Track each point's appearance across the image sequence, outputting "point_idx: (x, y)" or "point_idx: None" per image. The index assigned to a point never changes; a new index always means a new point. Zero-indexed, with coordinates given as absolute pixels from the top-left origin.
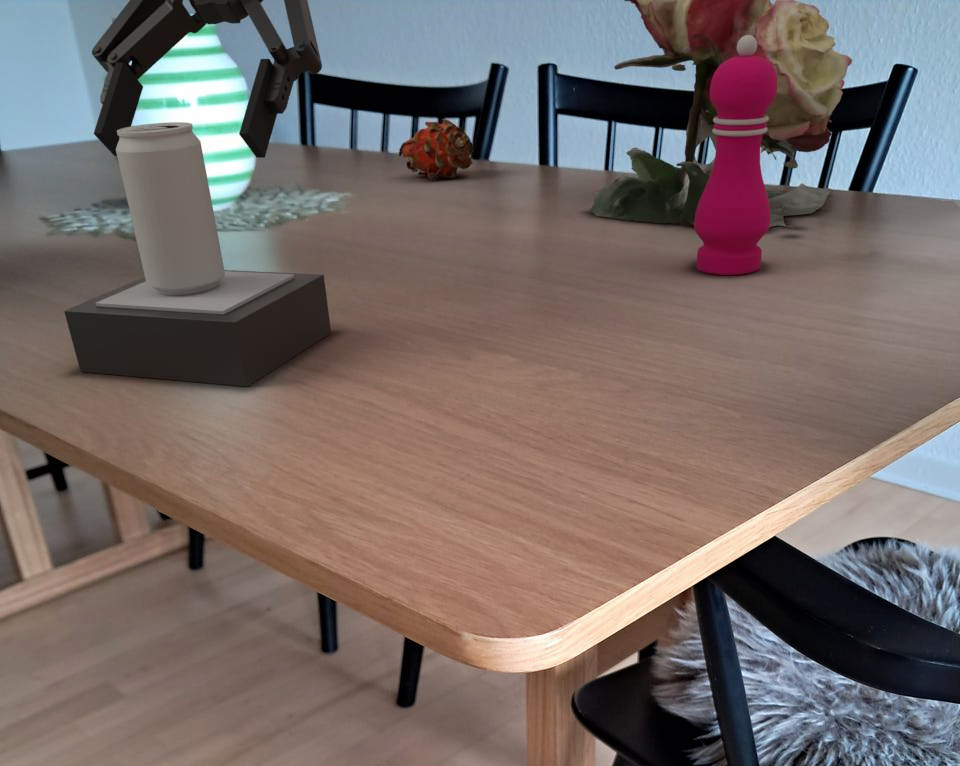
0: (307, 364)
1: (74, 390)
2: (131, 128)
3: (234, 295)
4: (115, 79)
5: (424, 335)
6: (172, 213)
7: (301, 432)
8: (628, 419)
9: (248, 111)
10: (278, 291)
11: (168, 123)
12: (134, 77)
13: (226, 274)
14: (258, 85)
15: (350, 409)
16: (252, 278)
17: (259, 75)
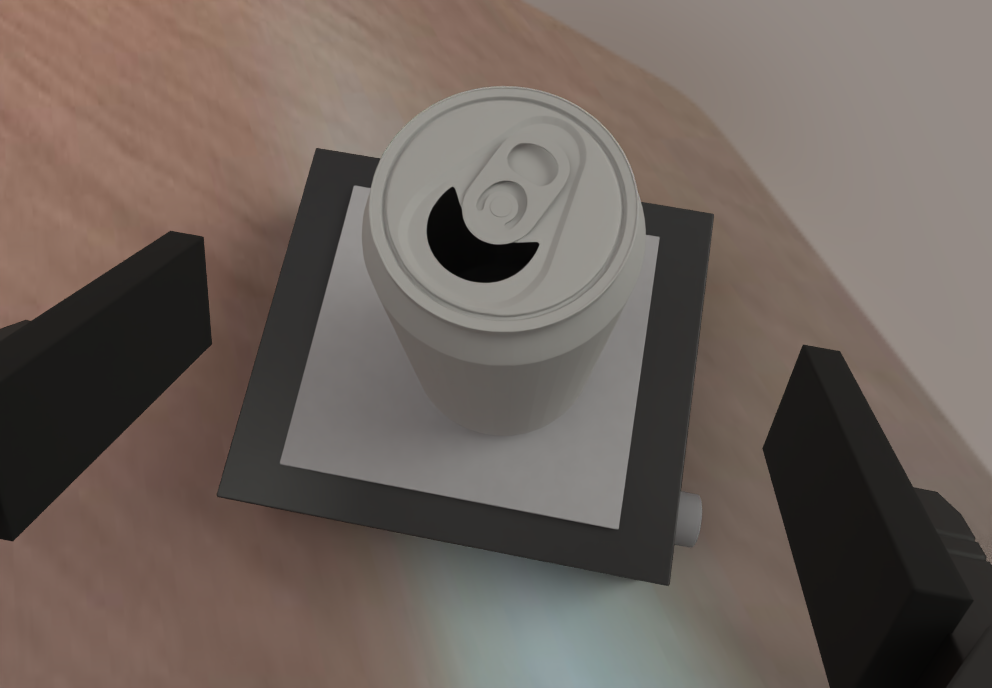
0: (267, 316)
1: (640, 180)
2: (600, 209)
3: (367, 287)
4: (894, 509)
5: (61, 494)
6: (455, 202)
7: (208, 47)
8: None
9: (142, 271)
10: (289, 349)
11: (503, 313)
12: (867, 660)
13: (453, 466)
14: (52, 317)
15: (152, 125)
16: (373, 427)
17: (25, 344)
